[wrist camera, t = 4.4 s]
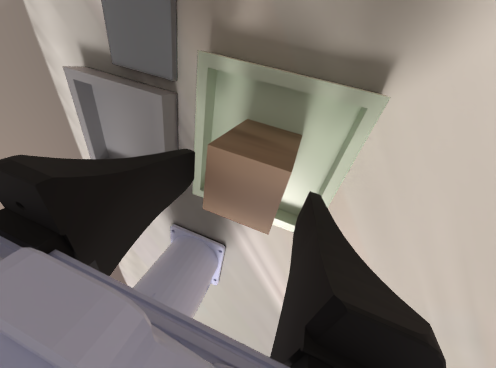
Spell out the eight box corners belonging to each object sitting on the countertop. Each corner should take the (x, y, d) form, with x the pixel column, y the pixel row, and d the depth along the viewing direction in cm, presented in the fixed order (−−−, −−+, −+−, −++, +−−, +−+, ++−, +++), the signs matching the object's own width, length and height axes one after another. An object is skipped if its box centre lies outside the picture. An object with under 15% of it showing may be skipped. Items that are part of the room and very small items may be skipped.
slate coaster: (177, 80, 16) (172, 80, 15) (118, 64, 17) (112, 63, 16) (175, -21, 13) (170, -24, 12) (102, -34, 14) (94, -38, 13)
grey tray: (178, 185, 22) (167, 195, 20) (108, 159, 24) (92, 165, 22) (177, 93, 16) (161, 95, 15) (85, 66, 18) (62, 66, 16)
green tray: (310, 224, 19) (309, 238, 17) (202, 184, 21) (192, 193, 19) (381, 93, 12) (390, 97, 10) (212, 52, 14) (197, 50, 12)
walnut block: (284, 183, 17) (268, 234, 12) (238, 167, 18) (202, 208, 12) (302, 135, 14) (291, 172, 9) (247, 118, 15) (207, 144, 10)
